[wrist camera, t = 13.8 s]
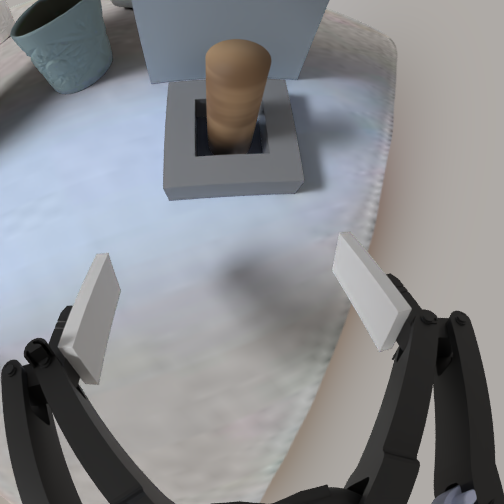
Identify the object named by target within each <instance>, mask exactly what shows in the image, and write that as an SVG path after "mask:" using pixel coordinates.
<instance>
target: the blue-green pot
mask: <svg viewBox="0 0 504 504" xmlns="http://www.w3.org/2000/svg"><path fill="white" fill-rule="evenodd" d="M10 34H11V37H12V39H13V40H14V41H15V42H16V43H17V45H18V46H19V47H20V48H21V49H22V50H23V51H24V52H26V55H27V56H30V57H31V61H32V62H33V64H34V65H35V67H36V68H38V70H39V72H40V73H41V74H43V76H44V77H45V78H46V80H47V81H48V82H49V84H50V85H51V86H52V87H53V88H54V90H55V91H57V92H59V93H61V94H71V93H75V92H78V91H81V90H83V89H85V88H87V87H89V86H90V85H92V84H93V83H94V82H96V81H97V80H98V79H99V78H101V77H102V76H103V75H104V74H105V72H106V71H107V70H108V68H109V67H110V65H111V62H112V59H113V58H112V51H111V47H110V42H109V39H108V36H107V35H106V27H105V24H104V21H103V17H102V6H101V1H100V0H38V1H37V2H36V3H34V4H33V5H32V6H31V7H29V8H28V9H27V10H26V11H25V12H24V13H23V14H22V15H21V16H20V17H19V18H18V20H17V21H16V23H15V24H14V26H13V28H12V29H11V33H10Z"/></svg>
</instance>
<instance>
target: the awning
mask: <svg viewBox="0 0 504 504" xmlns="http://www.w3.org/2000/svg"><path fill="white" fill-rule="evenodd" d="M131 1H132V5H133V10H134V15H135V19H136V24H137V28H138V32H139V37H140V41H141V45H142V49H143V53H144V57H145V61H146V65H147V69H148V73H149V77H150V81H151V84H154V83H161V82H170V81H179V80H191V79H205V78H206V59H205V57H206V53H207V51H208V50H209V49H210V48H211V47H212V46H213V45H215V44H217V43H219V42H221V41H225V40H230V39H243V40H249V41H252V42H255V43H257V44H259V45H261V46H263V47H264V48H265V49H266V50H267V51H268V52H269V54H270V56H271V61H272V62H271V66H270V70H269V74H268V78H280V79H295V80H297V79H298V76H299V74H300V71H301V69H302V66H303V64H304V61H305V59H306V56H307V54H308V51H309V49H310V46H311V44H312V41H313V39H314V36H315V34H316V31H317V29H318V26H319V24H320V22H321V19H322V17H323V14H324V12H325V9H326V7H327V4H328V2H329V0H131Z"/></svg>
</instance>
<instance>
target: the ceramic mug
mask: <svg viewBox="0 0 504 504" xmlns="http://www.w3.org/2000/svg"><path fill="white" fill-rule="evenodd" d="M111 2H112V3H113V4H114V5H116V6H119V7H130V8H133V5H132V1H131V0H111Z"/></svg>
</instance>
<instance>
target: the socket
mask: <svg viewBox="0 0 504 504" xmlns="http://www.w3.org/2000/svg"><path fill="white" fill-rule="evenodd" d="M200 117H207V107H206V80H191V81H180V82H170V83H169V85H168V96H167V108H166V122H165V141H164V170H163V189H164V191H165V193H166V195H167V197H168V199H169V201H172V200H184V199H197V198H211V197H226V196H245V195H268V194H295V193H296V191H297V190H298V189H299V188H300V186H301V185H302V184H303V182H304V175H303V169H302V163H301V157H300V152H299V146H298V140H297V135H296V130H295V124H294V119H293V114H292V109H291V104H290V100H289V95H288V90H287V86H286V81H285V80H280V79H267V82H266V86H265V90H264V93H263V97H262V101H261V105H260V109H259V114H258V121H259V129H260V137H261V145H262V153H263V154H233V155H213V156H198V157H197V118H200Z"/></svg>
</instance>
